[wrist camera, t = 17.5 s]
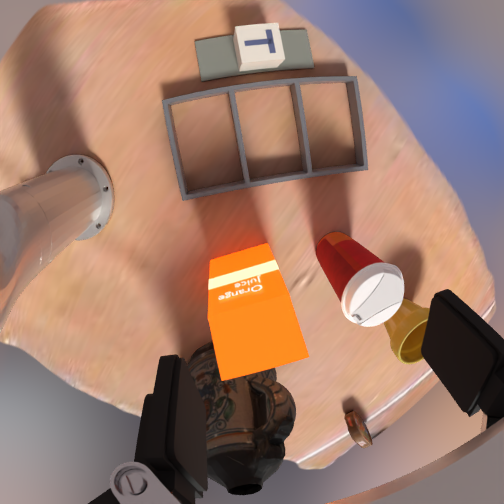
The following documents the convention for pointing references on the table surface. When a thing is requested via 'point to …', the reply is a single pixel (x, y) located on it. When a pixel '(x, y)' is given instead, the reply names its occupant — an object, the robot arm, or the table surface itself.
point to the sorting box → (301, 129)
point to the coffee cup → (360, 280)
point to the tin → (358, 429)
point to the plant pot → (407, 331)
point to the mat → (225, 62)
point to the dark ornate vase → (242, 423)
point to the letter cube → (258, 46)
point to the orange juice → (251, 314)
